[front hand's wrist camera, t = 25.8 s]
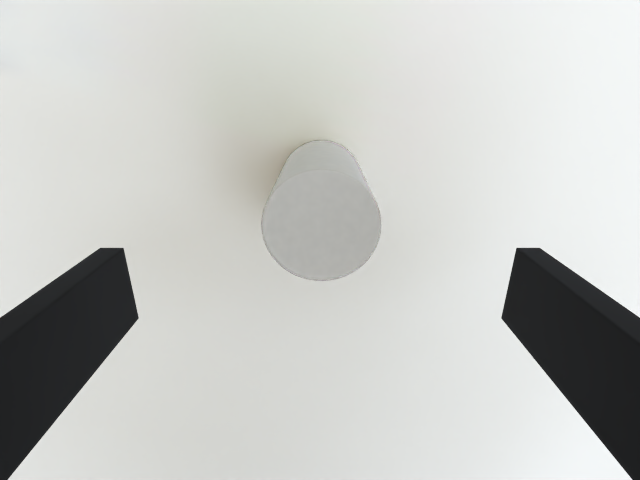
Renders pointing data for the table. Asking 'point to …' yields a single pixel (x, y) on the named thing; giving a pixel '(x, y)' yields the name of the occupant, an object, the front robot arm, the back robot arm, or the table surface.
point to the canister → (321, 214)
